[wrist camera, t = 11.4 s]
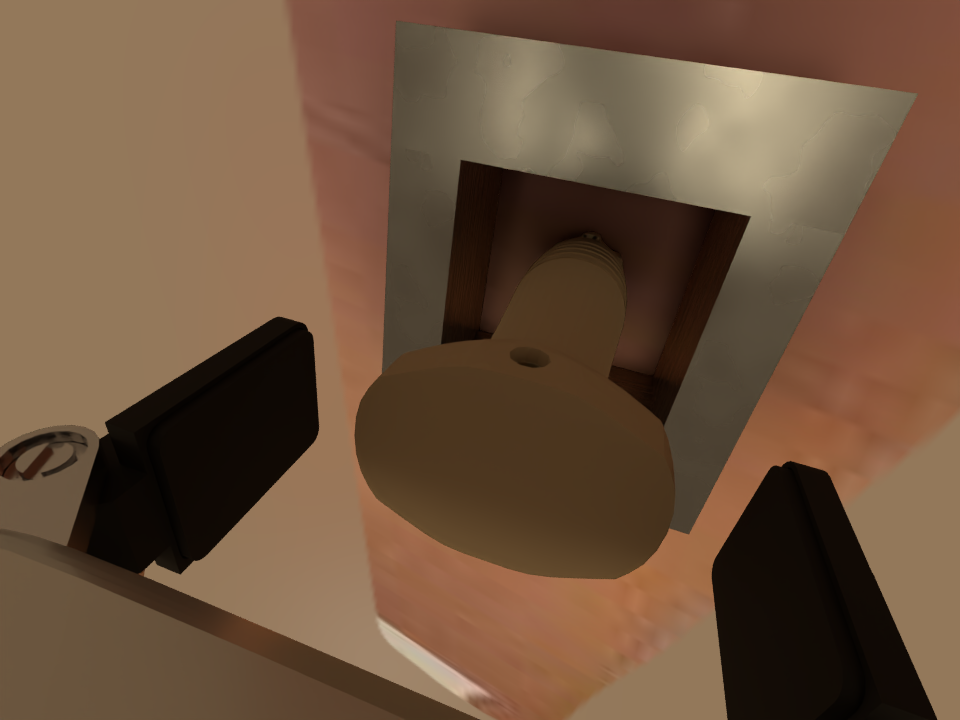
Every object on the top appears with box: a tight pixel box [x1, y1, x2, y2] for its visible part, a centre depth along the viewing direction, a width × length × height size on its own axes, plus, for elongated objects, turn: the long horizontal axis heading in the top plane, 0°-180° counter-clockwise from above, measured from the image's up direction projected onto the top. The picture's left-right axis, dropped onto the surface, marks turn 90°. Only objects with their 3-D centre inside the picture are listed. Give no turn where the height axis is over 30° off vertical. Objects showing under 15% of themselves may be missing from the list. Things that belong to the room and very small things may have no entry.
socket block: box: [382, 21, 918, 534], centre depth 20 cm, size 16×14×6 cm
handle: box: [355, 232, 675, 579], centre depth 16 cm, size 5×6×15 cm
